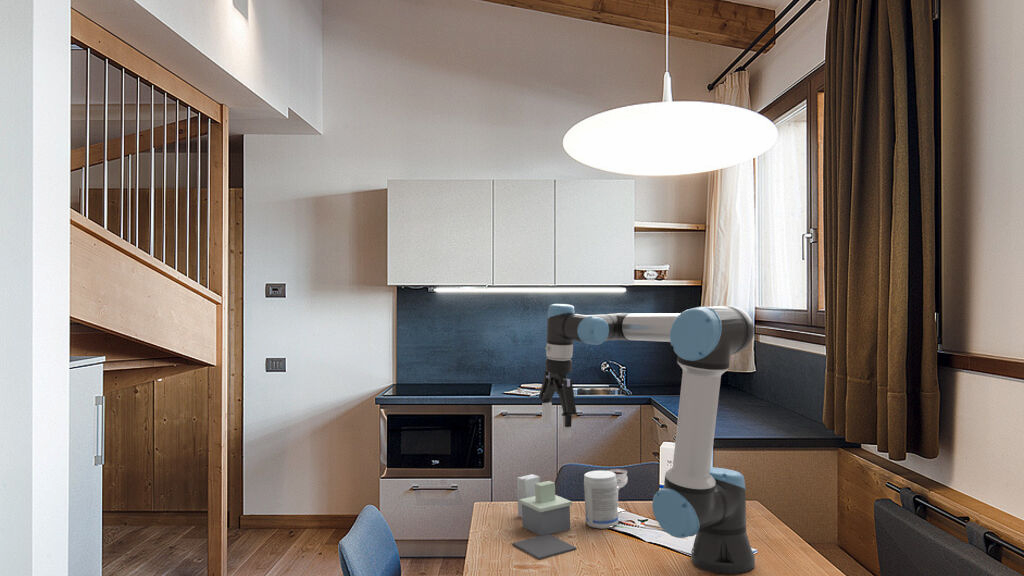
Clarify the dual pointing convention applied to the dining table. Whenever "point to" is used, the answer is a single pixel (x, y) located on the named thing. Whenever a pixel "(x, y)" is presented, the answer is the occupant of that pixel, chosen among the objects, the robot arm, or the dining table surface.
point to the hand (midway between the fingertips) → (555, 431)
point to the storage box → (546, 520)
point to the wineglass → (620, 481)
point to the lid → (545, 498)
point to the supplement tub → (601, 499)
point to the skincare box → (526, 488)
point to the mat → (544, 546)
